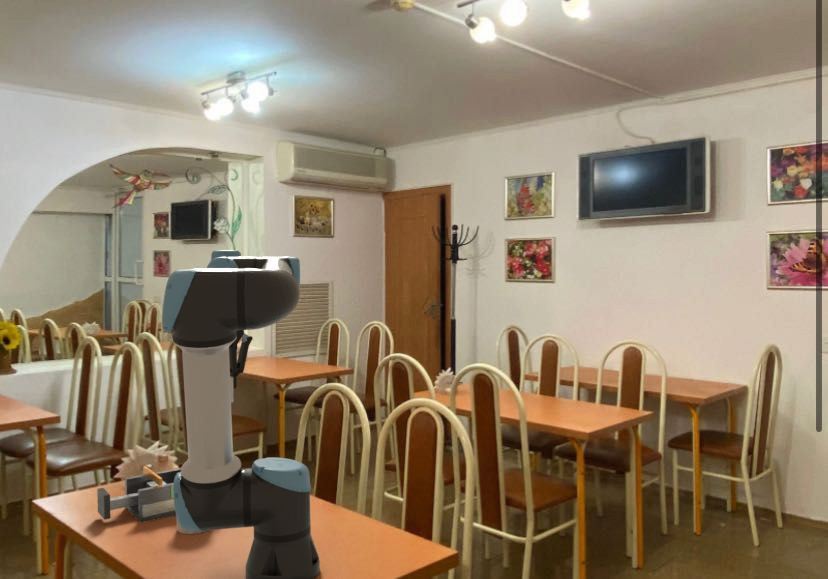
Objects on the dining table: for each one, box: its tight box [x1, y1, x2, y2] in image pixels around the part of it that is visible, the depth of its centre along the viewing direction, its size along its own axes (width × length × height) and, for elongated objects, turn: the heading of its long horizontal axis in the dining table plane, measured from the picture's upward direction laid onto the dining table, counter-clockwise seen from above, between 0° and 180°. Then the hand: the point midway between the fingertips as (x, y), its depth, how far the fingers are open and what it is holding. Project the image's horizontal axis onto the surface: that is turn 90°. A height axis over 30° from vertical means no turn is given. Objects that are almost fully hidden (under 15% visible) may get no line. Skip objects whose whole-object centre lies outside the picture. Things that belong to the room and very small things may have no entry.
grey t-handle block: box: [96, 465, 166, 521], centre depth 178 cm, size 14×16×9 cm
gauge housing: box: [124, 467, 181, 523], centre depth 183 cm, size 14×18×8 cm
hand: (228, 401), depth 177 cm, fingers closed
